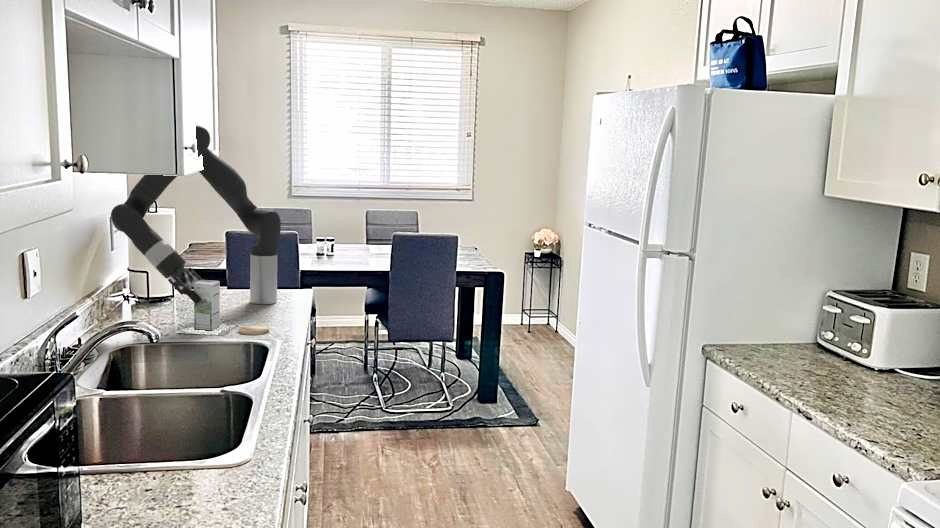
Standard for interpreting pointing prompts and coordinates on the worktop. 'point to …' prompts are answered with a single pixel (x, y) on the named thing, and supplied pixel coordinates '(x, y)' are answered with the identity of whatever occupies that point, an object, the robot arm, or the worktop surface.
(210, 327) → the syrup box
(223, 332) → the plaque
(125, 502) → the worktop surface
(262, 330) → the cork coaster
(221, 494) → the worktop surface
